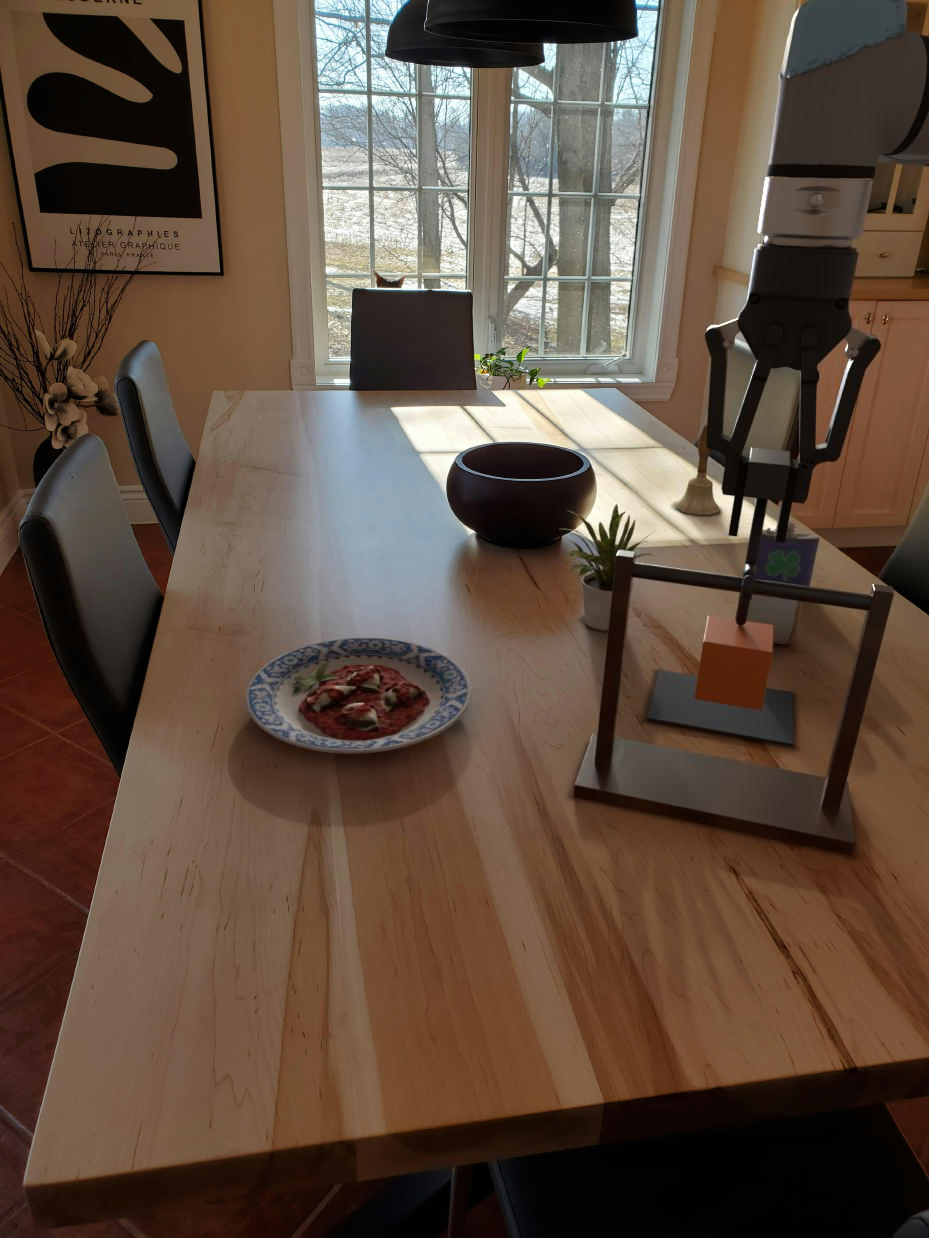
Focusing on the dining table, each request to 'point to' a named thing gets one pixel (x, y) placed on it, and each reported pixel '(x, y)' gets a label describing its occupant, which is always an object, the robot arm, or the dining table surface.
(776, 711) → the mat
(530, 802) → the dining table surface
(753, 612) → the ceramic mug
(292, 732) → the ceramic plate
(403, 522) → the dining table surface
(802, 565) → the flask
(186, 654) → the dining table surface
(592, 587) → the house plant
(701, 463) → the hand bell
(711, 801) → the rack
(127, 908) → the dining table surface
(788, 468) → the orange block with hook
